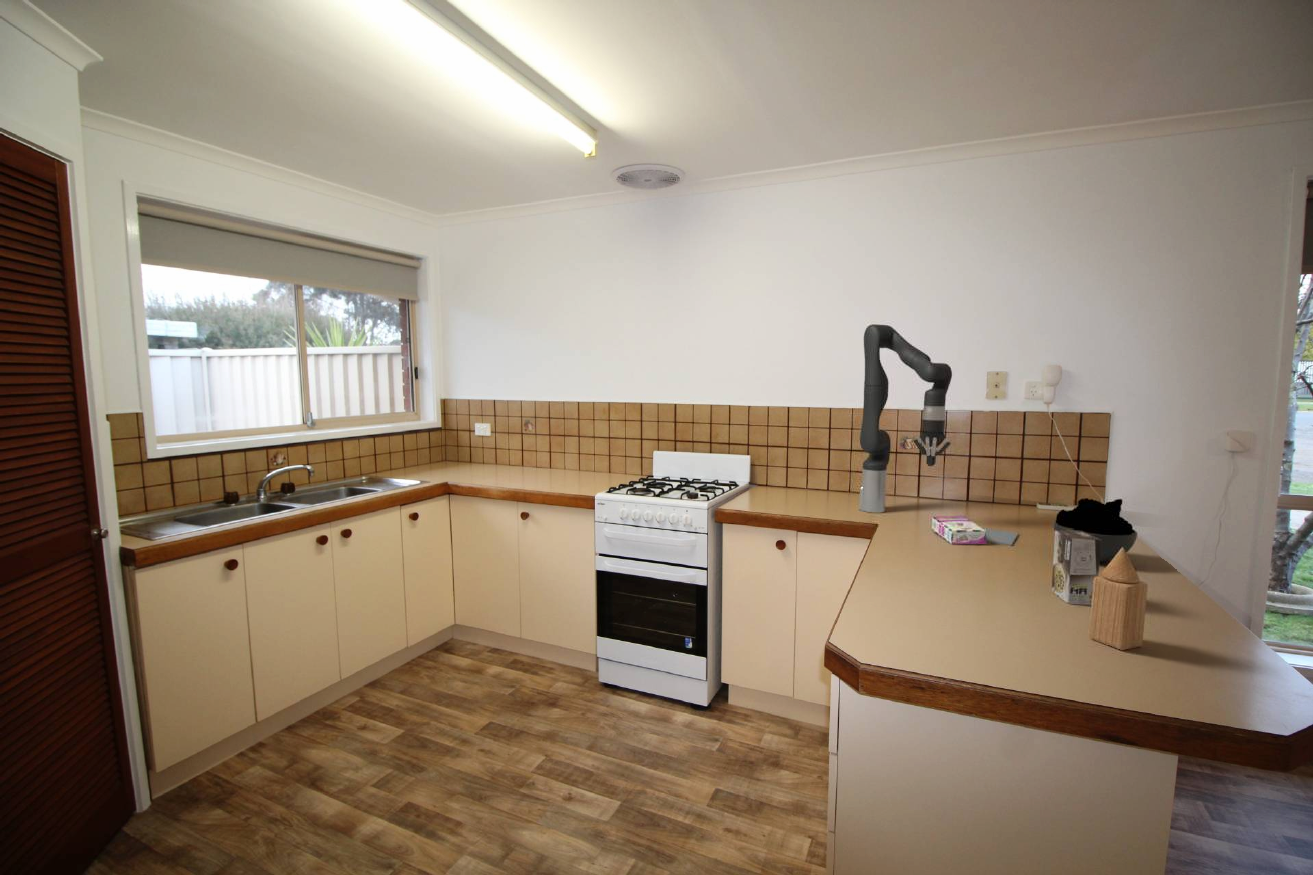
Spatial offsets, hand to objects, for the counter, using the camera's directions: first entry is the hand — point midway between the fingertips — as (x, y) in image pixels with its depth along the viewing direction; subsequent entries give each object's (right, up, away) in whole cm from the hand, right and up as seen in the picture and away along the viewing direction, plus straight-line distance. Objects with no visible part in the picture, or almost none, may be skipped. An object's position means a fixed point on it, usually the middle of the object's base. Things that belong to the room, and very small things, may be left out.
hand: (930, 465), depth 215 cm
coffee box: (+2, -29, -70) cm, 76 cm away
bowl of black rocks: (+30, -27, -39) cm, 56 cm away
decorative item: (-6, -32, -95) cm, 100 cm away
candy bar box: (+3, -20, -7) cm, 21 cm away
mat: (+14, -24, -12) cm, 30 cm away
